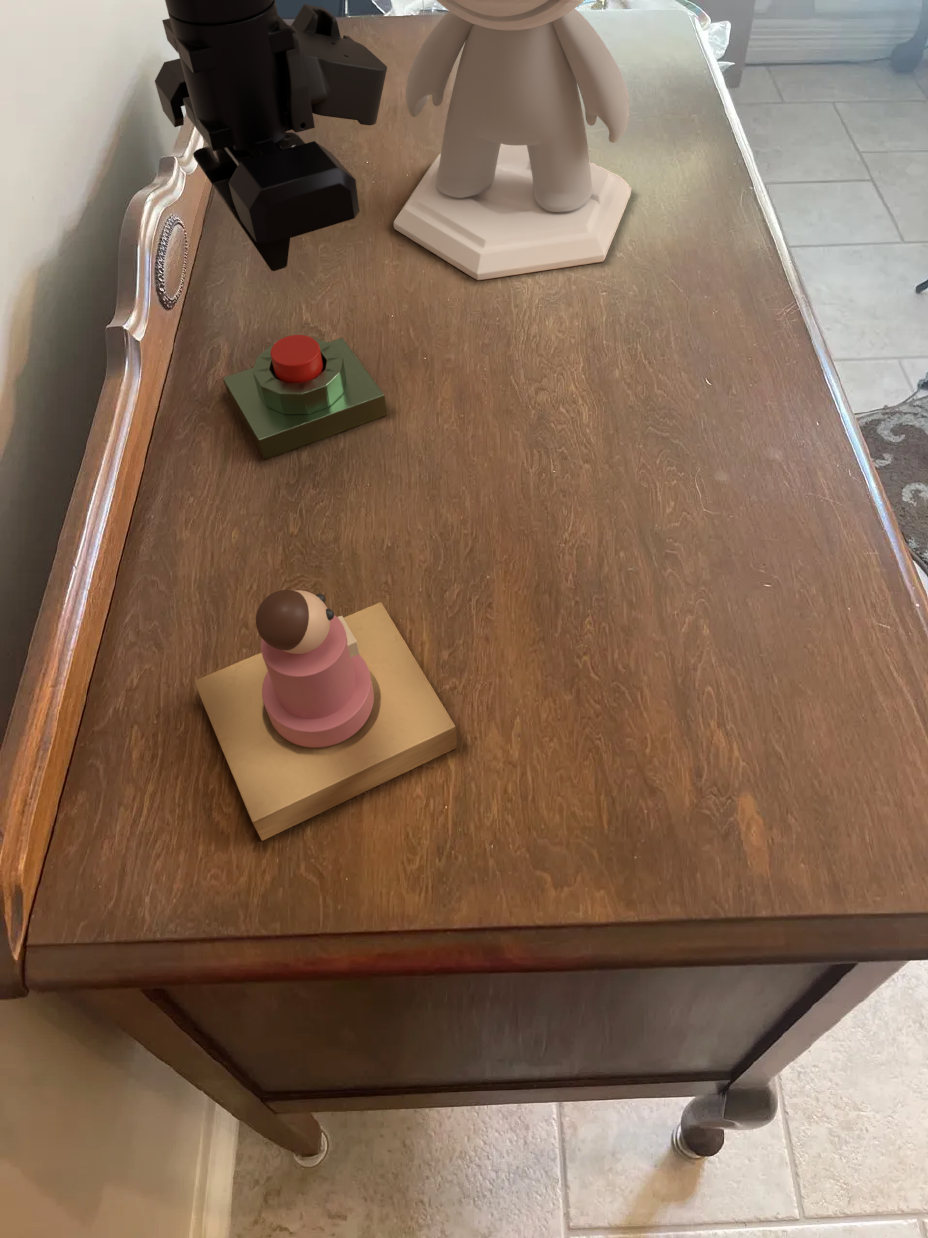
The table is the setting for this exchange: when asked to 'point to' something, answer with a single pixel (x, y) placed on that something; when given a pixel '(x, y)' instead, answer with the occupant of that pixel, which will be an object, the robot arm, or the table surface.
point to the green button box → (304, 400)
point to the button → (296, 359)
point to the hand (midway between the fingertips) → (277, 266)
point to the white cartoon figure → (517, 139)
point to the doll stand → (326, 776)
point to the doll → (311, 670)
